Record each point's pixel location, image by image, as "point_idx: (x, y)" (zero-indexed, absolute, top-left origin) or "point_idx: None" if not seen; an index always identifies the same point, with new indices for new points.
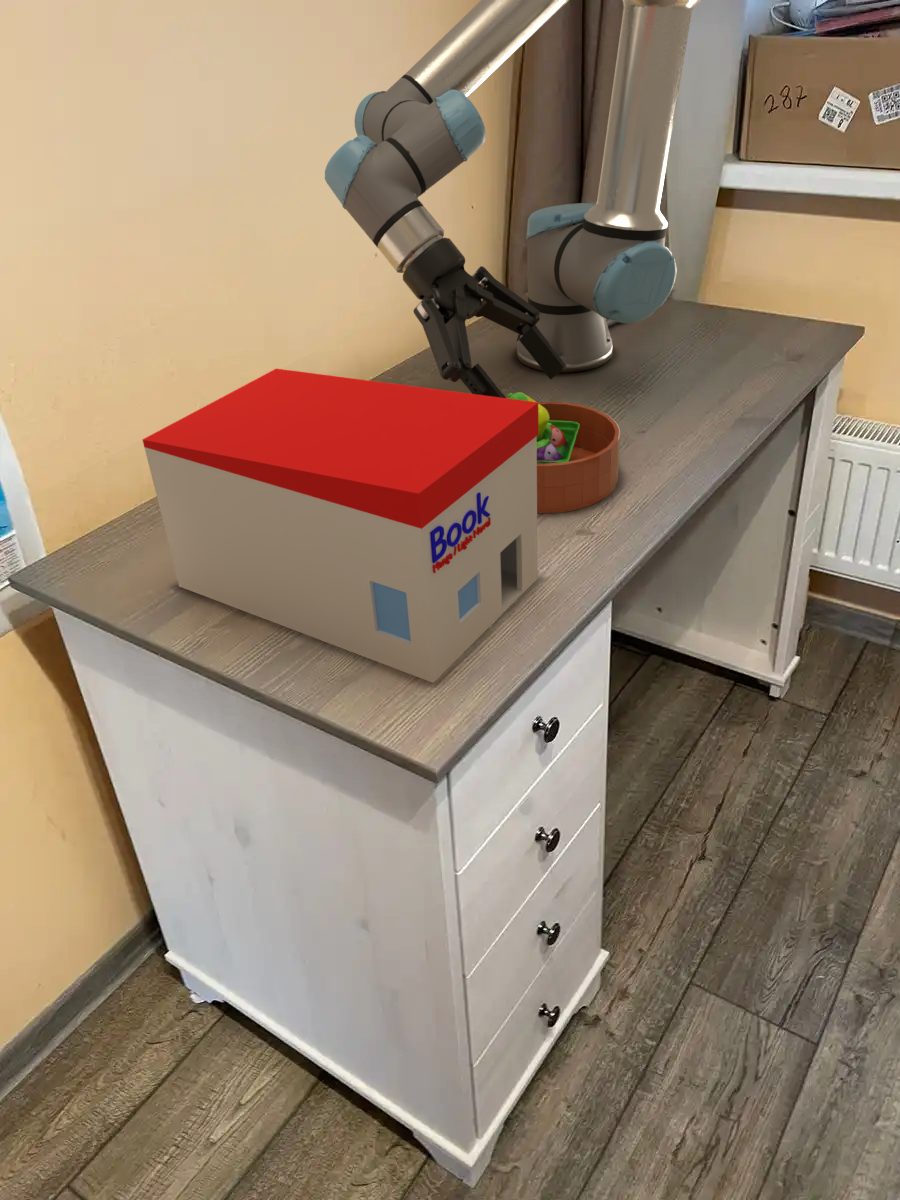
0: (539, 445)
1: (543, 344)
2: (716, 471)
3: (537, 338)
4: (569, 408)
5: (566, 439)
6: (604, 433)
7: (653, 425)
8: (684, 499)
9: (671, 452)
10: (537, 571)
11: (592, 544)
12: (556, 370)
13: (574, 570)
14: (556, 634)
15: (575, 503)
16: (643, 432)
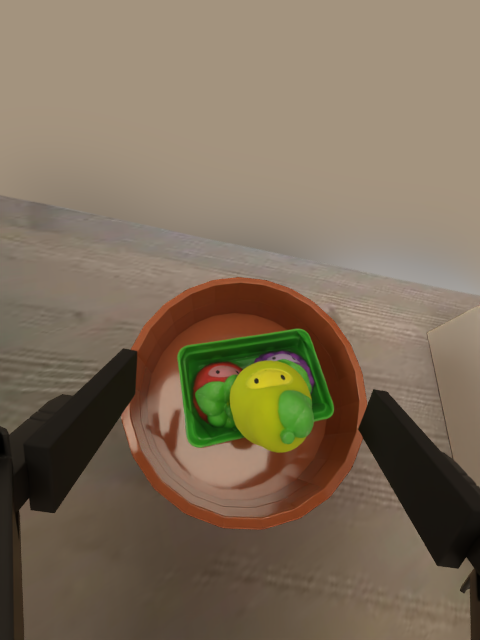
0: (298, 370)
1: (97, 399)
2: (170, 234)
3: (82, 420)
4: None
5: (201, 367)
6: (172, 321)
7: (55, 307)
8: (235, 250)
9: (134, 276)
10: (433, 329)
11: (348, 304)
12: (134, 372)
13: (394, 308)
14: (474, 297)
15: None
16: (79, 313)
